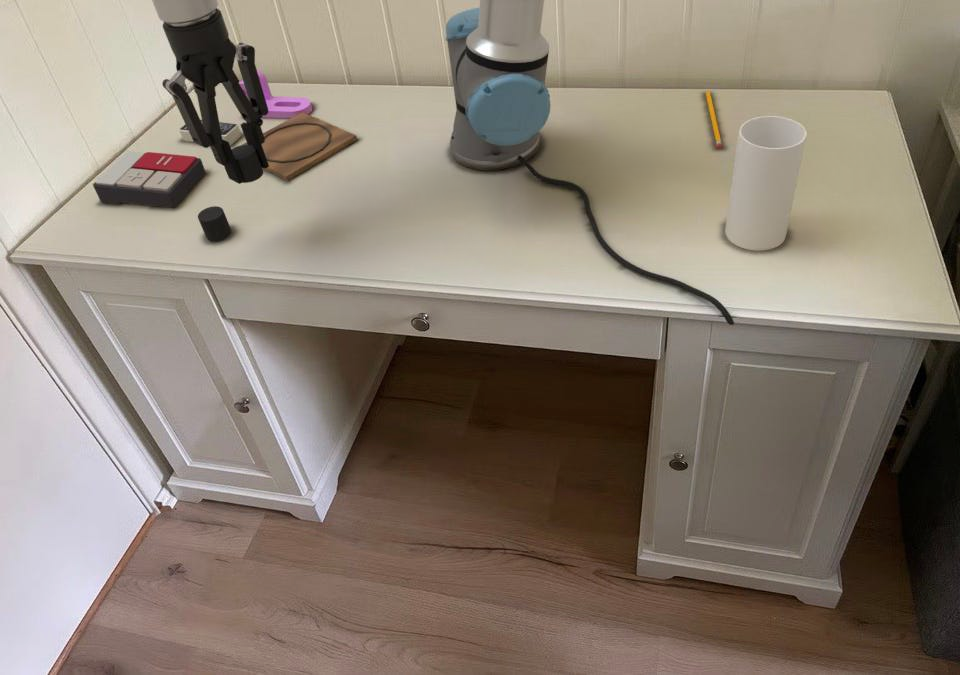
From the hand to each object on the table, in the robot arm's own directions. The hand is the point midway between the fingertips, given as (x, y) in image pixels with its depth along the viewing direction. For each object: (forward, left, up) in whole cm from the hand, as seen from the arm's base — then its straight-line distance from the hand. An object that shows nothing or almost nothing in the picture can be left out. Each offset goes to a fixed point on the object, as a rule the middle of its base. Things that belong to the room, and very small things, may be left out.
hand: (249, 172), depth 116 cm
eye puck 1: (+7, +5, -11) cm, 14 cm away
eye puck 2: (0, 0, -1) cm, 1 cm away
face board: (+18, -19, -11) cm, 28 cm away
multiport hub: (+35, -12, -11) cm, 39 cm away
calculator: (+29, +4, -11) cm, 31 cm away
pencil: (-39, -66, -12) cm, 77 cm away
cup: (-60, -42, -11) cm, 74 cm away
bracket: (+32, -26, -11) cm, 43 cm away
